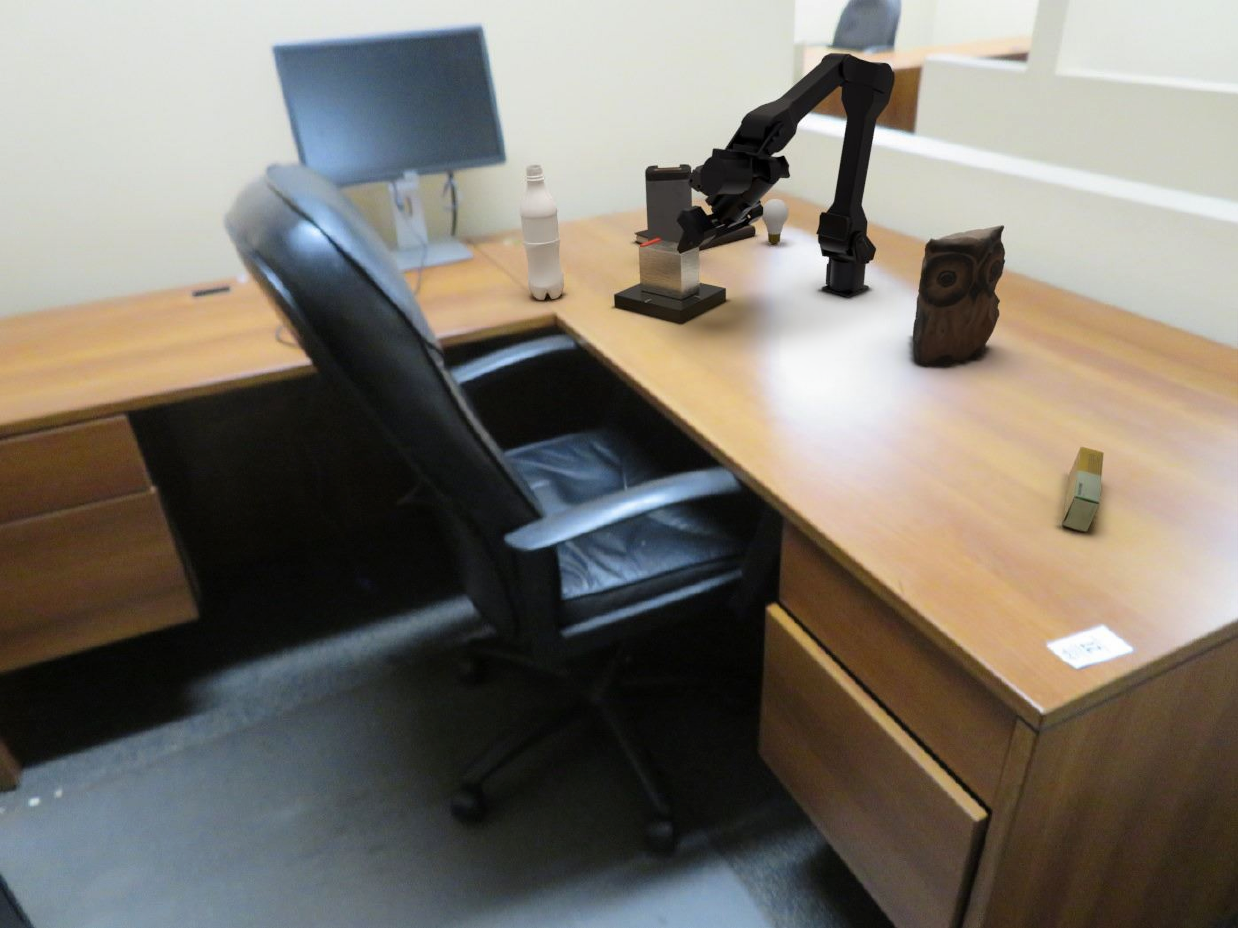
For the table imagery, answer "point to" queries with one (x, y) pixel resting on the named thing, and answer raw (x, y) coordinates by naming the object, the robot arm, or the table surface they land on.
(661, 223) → the electronic device
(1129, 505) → the table surface
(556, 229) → the water bottle
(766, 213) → the light bulb
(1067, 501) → the medication box
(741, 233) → the hardcover book
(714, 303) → the dial plate
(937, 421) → the table surface
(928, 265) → the owl
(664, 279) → the brushed aluminum block
